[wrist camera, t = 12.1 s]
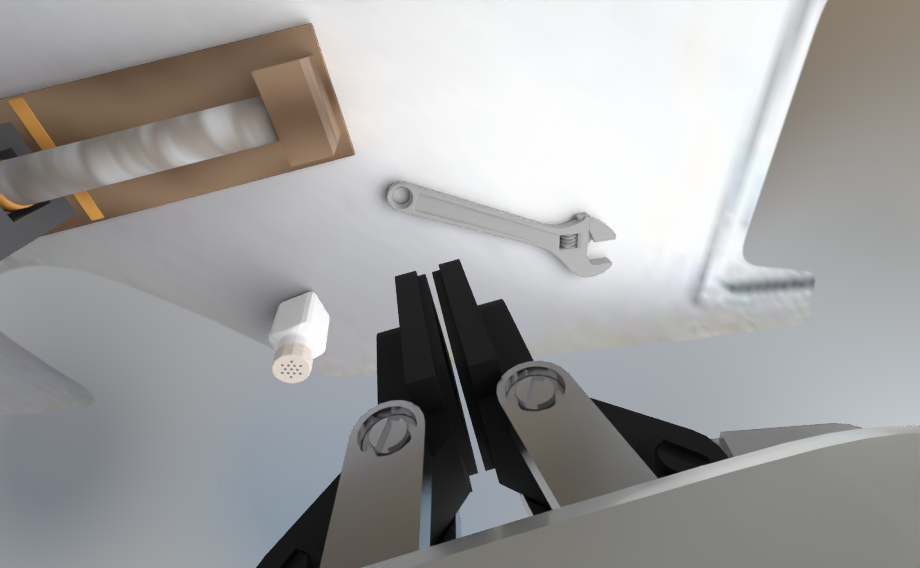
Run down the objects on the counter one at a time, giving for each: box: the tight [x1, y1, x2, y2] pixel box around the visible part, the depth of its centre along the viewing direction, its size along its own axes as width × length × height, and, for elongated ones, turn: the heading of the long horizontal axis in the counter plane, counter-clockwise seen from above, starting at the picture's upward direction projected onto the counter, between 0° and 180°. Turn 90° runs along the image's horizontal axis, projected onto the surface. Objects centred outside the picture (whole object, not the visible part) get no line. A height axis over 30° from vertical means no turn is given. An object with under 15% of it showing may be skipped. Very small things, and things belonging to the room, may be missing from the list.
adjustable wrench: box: [387, 181, 616, 277], centre depth 44 cm, size 25×6×2 cm, turn 66°
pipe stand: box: [0, 23, 355, 236], centre depth 32 cm, size 10×32×9 cm, turn 102°
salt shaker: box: [269, 292, 329, 383], centre depth 42 cm, size 4×4×10 cm
